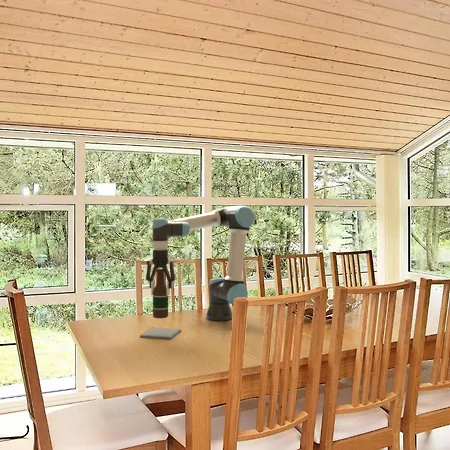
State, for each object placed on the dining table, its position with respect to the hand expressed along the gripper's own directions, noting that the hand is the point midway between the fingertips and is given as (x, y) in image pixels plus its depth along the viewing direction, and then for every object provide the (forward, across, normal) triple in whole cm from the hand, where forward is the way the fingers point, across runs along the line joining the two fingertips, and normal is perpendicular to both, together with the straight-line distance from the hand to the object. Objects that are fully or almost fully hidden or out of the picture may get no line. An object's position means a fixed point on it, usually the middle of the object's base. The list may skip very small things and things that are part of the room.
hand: (160, 294), depth 239 cm
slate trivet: (+20, 0, 0) cm, 20 cm away
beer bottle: (+11, 0, 0) cm, 11 cm away
